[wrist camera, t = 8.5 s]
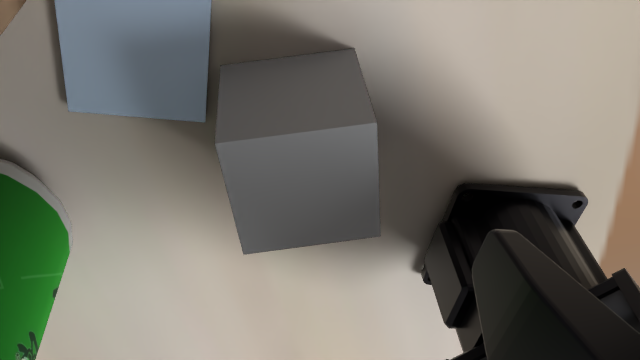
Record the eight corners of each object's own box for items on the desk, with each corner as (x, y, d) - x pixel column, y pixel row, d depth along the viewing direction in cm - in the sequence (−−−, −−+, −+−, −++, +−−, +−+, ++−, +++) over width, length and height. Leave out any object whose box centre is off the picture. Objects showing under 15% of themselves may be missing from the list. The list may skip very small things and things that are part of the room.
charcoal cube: (354, 47, 21) (377, 122, 18) (360, 153, 25) (380, 236, 21) (220, 64, 21) (214, 143, 18) (244, 168, 25) (243, 254, 21)
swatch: (212, -7, 20) (211, -2, 19) (205, 116, 23) (205, 122, 22) (54, -26, 19) (51, -22, 18) (70, 105, 22) (68, 111, 21)
